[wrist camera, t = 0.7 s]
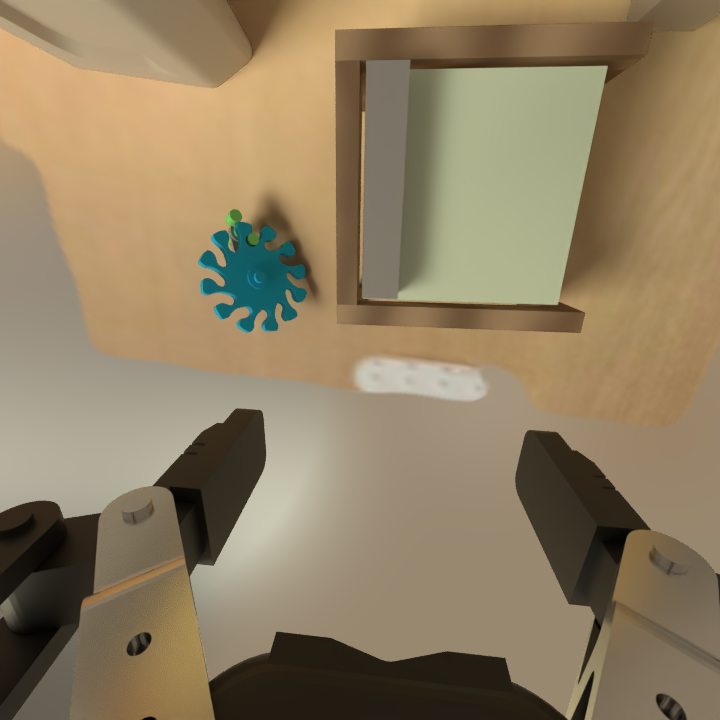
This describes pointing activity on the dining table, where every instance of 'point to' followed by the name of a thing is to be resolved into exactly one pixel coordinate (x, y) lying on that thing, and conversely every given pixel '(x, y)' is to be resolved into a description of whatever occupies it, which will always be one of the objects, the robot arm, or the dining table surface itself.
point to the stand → (453, 51)
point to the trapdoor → (474, 179)
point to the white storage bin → (136, 36)
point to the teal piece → (252, 274)
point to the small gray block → (673, 13)
